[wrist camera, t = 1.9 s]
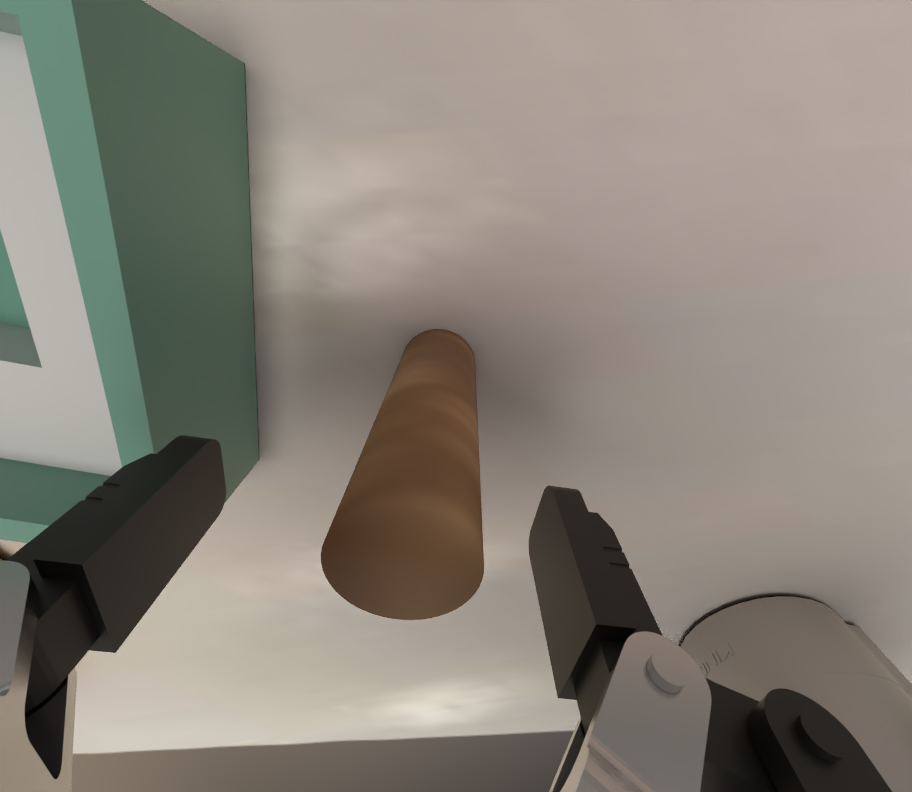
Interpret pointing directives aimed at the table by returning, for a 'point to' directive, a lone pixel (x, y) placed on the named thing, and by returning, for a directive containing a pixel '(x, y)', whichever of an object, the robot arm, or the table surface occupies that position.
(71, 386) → the box
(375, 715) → the table surface
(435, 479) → the peg
